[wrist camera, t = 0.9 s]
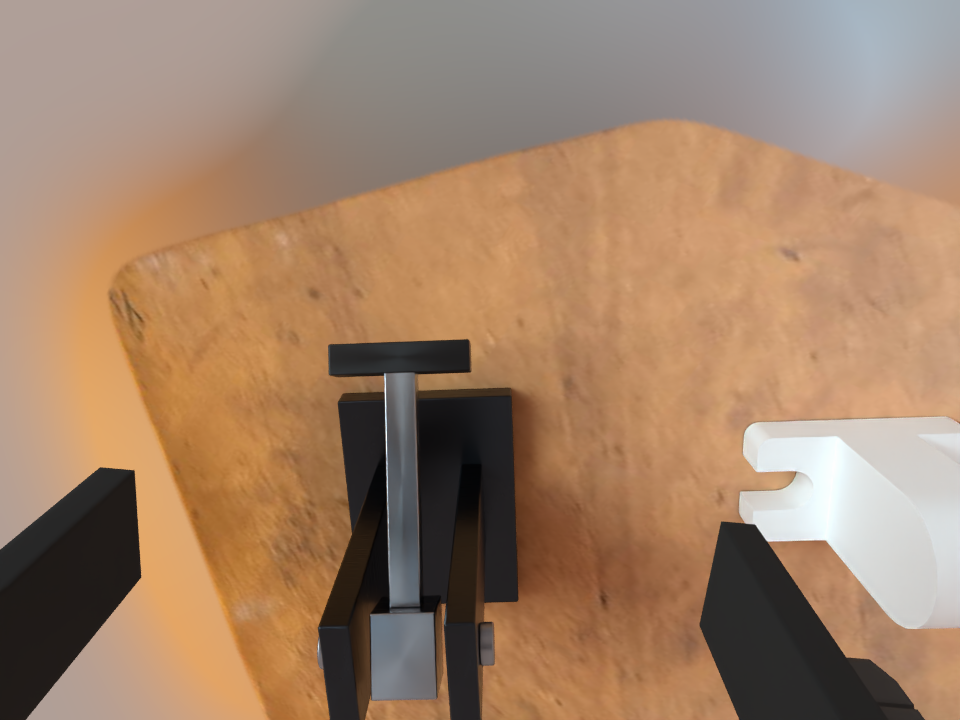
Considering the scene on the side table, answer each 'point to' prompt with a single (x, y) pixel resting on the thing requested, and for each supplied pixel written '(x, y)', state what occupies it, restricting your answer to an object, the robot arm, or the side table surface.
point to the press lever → (403, 516)
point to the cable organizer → (870, 505)
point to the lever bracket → (426, 539)
